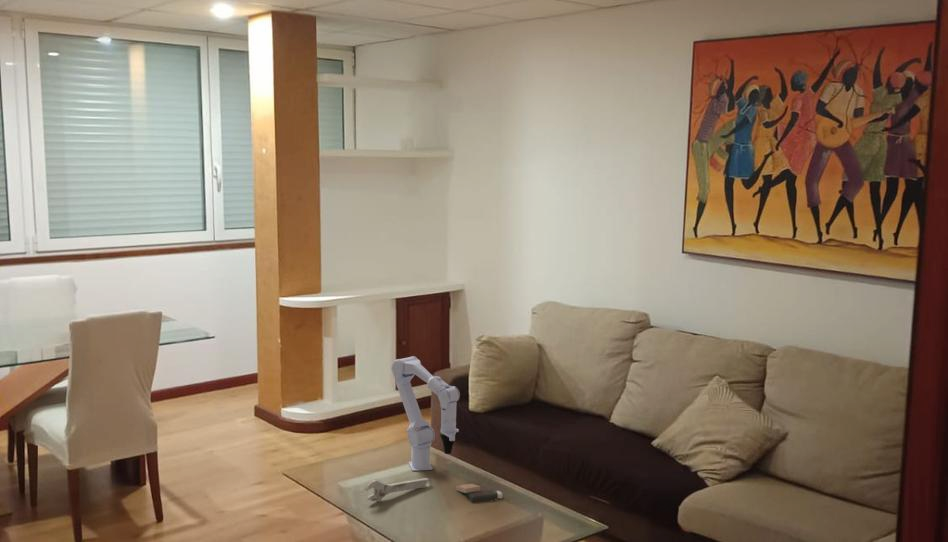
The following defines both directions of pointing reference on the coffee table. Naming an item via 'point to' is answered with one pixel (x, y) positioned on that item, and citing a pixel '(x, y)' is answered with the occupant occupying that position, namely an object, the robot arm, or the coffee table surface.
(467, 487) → the tile
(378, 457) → the coffee table surface
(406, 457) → the coffee table surface
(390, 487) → the wrench
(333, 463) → the coffee table surface
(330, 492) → the coffee table surface
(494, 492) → the usb drive
